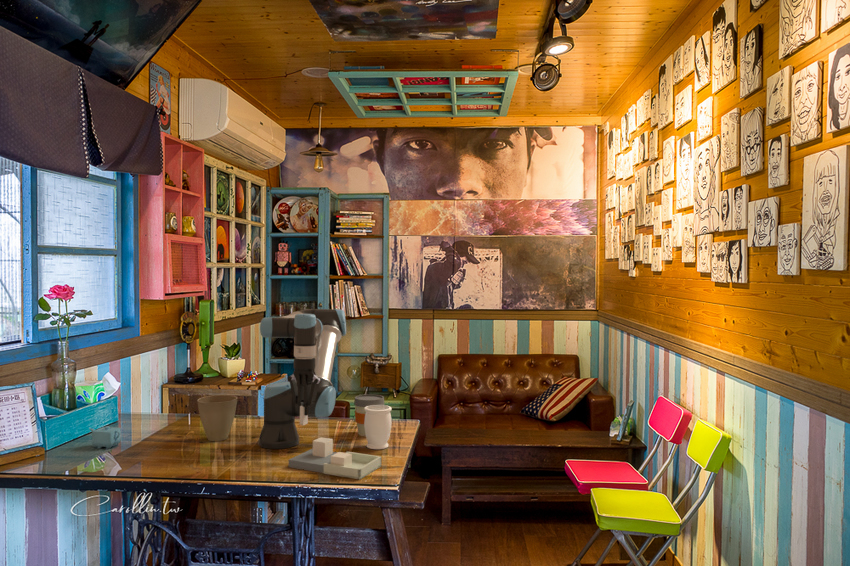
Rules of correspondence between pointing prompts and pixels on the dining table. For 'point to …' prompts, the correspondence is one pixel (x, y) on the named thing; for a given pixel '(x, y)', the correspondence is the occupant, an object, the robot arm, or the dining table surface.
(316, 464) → the board
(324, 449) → the block
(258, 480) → the dining table surface
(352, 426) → the dining table surface
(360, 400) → the reusable coffee cup
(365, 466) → the tray
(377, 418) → the jar
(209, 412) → the plant pot
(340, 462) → the block
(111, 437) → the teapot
